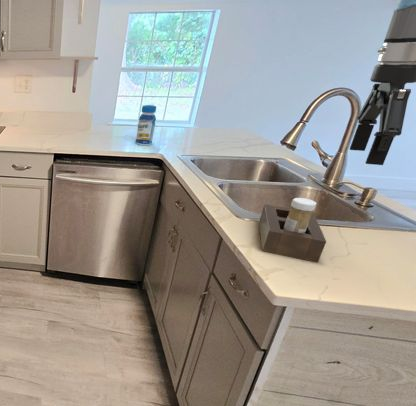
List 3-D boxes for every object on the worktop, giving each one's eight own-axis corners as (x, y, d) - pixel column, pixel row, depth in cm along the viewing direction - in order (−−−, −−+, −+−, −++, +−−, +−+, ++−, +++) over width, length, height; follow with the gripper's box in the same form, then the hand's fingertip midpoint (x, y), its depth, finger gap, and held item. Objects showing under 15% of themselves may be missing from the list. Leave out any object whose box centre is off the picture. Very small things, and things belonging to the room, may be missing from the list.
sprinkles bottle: (301, 253, 93) (320, 205, 88) (279, 249, 95) (296, 202, 90) (295, 244, 97) (313, 198, 92) (275, 241, 99) (290, 196, 94)
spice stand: (306, 230, 104) (313, 211, 102) (317, 262, 89) (326, 241, 87) (258, 222, 110) (264, 204, 107) (262, 251, 95) (269, 230, 92)
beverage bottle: (155, 144, 195) (162, 106, 187) (142, 146, 193) (148, 107, 185) (144, 141, 202) (150, 104, 194) (131, 142, 200) (137, 105, 192)
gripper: (360, 61, 92) (332, 143, 100) (397, 67, 72) (358, 169, 81) (402, 60, 88) (370, 146, 96) (453, 66, 69) (407, 173, 77)
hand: (364, 156), depth 88 cm, fingers open, 13 cm apart
